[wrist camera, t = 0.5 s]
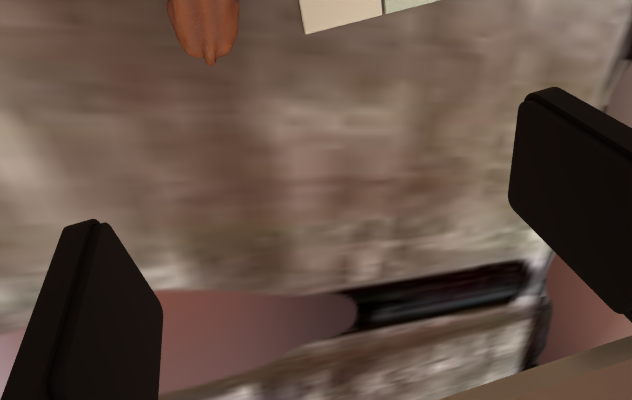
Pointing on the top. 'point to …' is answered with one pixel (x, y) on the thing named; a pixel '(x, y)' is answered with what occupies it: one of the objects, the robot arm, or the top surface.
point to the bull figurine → (205, 26)
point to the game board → (347, 11)
